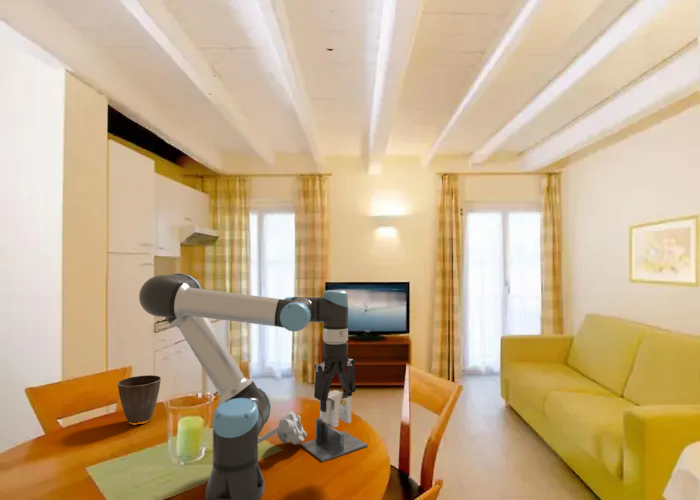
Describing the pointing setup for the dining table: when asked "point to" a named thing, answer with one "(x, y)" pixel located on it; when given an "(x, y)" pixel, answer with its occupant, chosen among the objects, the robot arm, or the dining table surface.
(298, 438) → the valve
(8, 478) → the dining table surface
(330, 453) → the dark grey angled piece
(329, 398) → the hollow grey box
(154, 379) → the plant pot
